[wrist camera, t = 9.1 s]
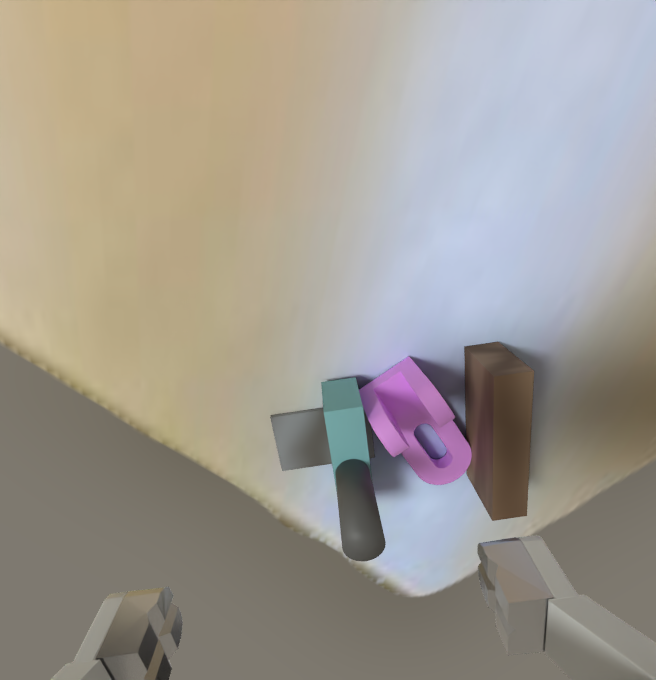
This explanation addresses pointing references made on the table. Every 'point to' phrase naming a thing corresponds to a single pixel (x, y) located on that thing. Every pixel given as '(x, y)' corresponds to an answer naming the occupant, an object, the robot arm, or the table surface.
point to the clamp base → (481, 430)
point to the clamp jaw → (352, 470)
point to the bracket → (415, 421)
